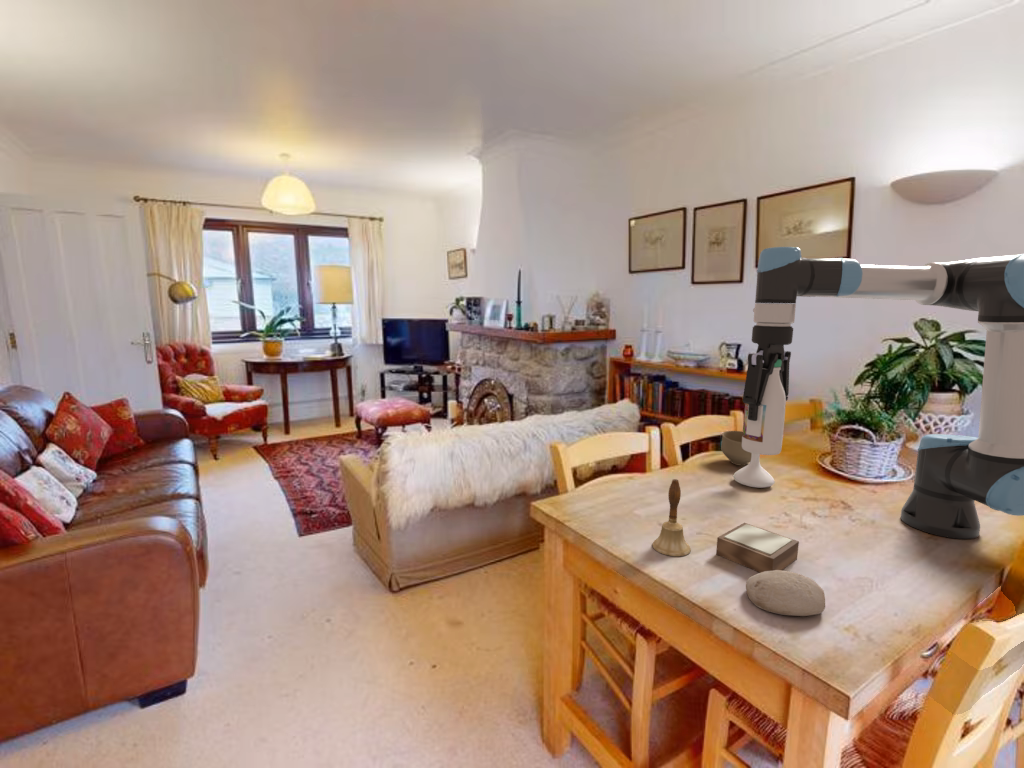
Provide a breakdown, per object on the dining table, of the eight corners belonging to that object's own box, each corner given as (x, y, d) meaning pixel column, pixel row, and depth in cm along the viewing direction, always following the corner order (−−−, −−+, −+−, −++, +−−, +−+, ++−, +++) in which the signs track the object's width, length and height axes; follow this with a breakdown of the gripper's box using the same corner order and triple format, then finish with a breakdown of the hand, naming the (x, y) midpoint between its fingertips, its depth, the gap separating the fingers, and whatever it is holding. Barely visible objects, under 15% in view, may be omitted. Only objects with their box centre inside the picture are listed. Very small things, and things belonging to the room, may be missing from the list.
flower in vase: (724, 480, 159) (730, 401, 155) (753, 475, 163) (759, 398, 158) (757, 495, 147) (765, 410, 142) (787, 490, 150) (795, 407, 146)
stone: (746, 623, 96) (745, 603, 91) (745, 574, 103) (744, 553, 98) (826, 635, 91) (829, 615, 86) (820, 583, 98) (823, 561, 93)
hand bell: (648, 538, 120) (651, 473, 117) (684, 539, 120) (688, 474, 117) (657, 556, 112) (661, 486, 109) (695, 557, 111) (700, 487, 109)
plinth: (797, 558, 111) (799, 540, 110) (771, 577, 103) (773, 557, 103) (743, 538, 120) (744, 521, 119) (716, 554, 113) (717, 536, 112)
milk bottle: (773, 446, 113) (781, 356, 110) (787, 457, 106) (796, 361, 103) (736, 445, 114) (744, 355, 111) (747, 455, 107) (756, 360, 104)
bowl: (739, 471, 166) (742, 442, 165) (711, 460, 178) (713, 432, 176) (769, 467, 171) (771, 438, 169) (739, 456, 183) (741, 429, 181)
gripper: (778, 322, 115) (768, 422, 118) (729, 325, 102) (720, 435, 106) (813, 324, 109) (802, 428, 113) (766, 326, 96) (756, 444, 100)
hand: (763, 432), depth 109 cm, fingers closed on milk bottle, 8 cm apart
